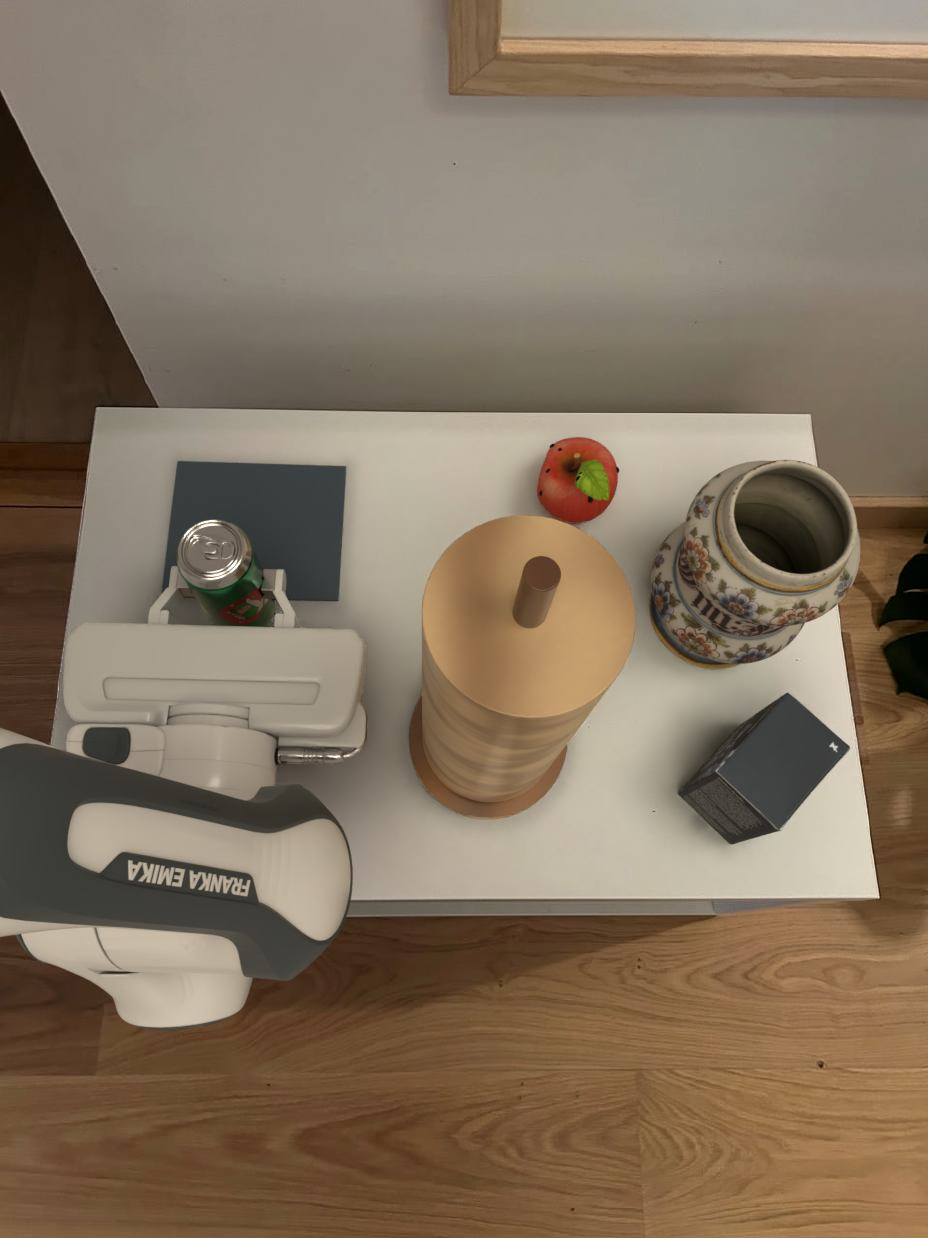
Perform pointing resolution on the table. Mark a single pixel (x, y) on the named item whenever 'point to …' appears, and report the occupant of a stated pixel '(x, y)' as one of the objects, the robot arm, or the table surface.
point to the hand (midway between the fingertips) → (229, 570)
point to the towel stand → (514, 660)
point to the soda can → (224, 574)
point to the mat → (269, 517)
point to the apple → (577, 480)
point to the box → (764, 771)
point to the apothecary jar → (753, 563)
